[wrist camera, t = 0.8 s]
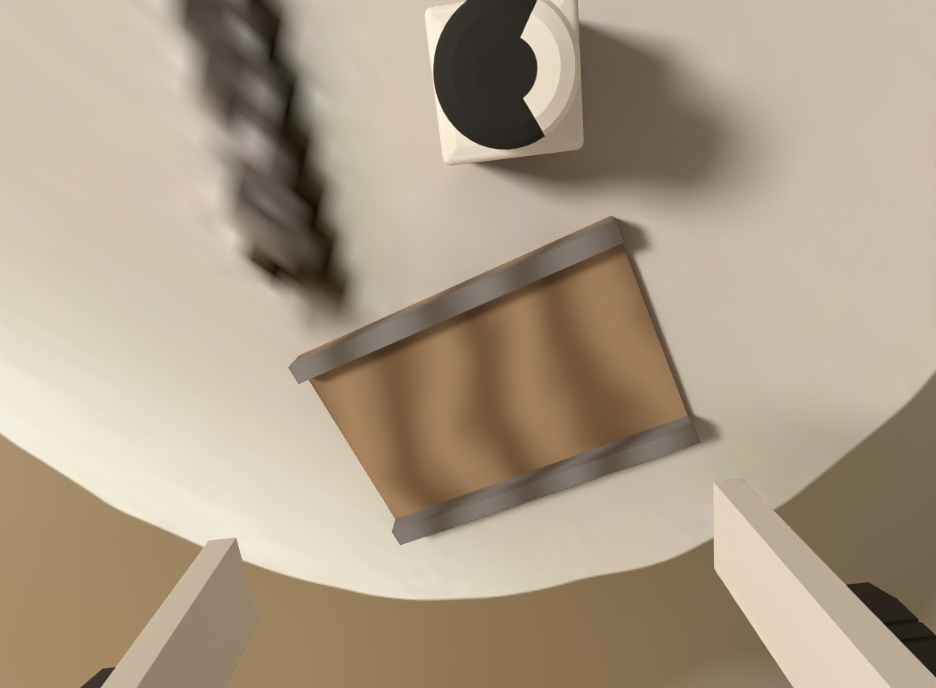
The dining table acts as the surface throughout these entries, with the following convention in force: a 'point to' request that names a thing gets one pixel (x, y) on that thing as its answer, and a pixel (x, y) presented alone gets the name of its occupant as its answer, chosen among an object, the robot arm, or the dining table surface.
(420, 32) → the dining table surface
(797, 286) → the dining table surface
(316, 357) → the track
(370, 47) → the dining table surface
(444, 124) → the medicine bottle
